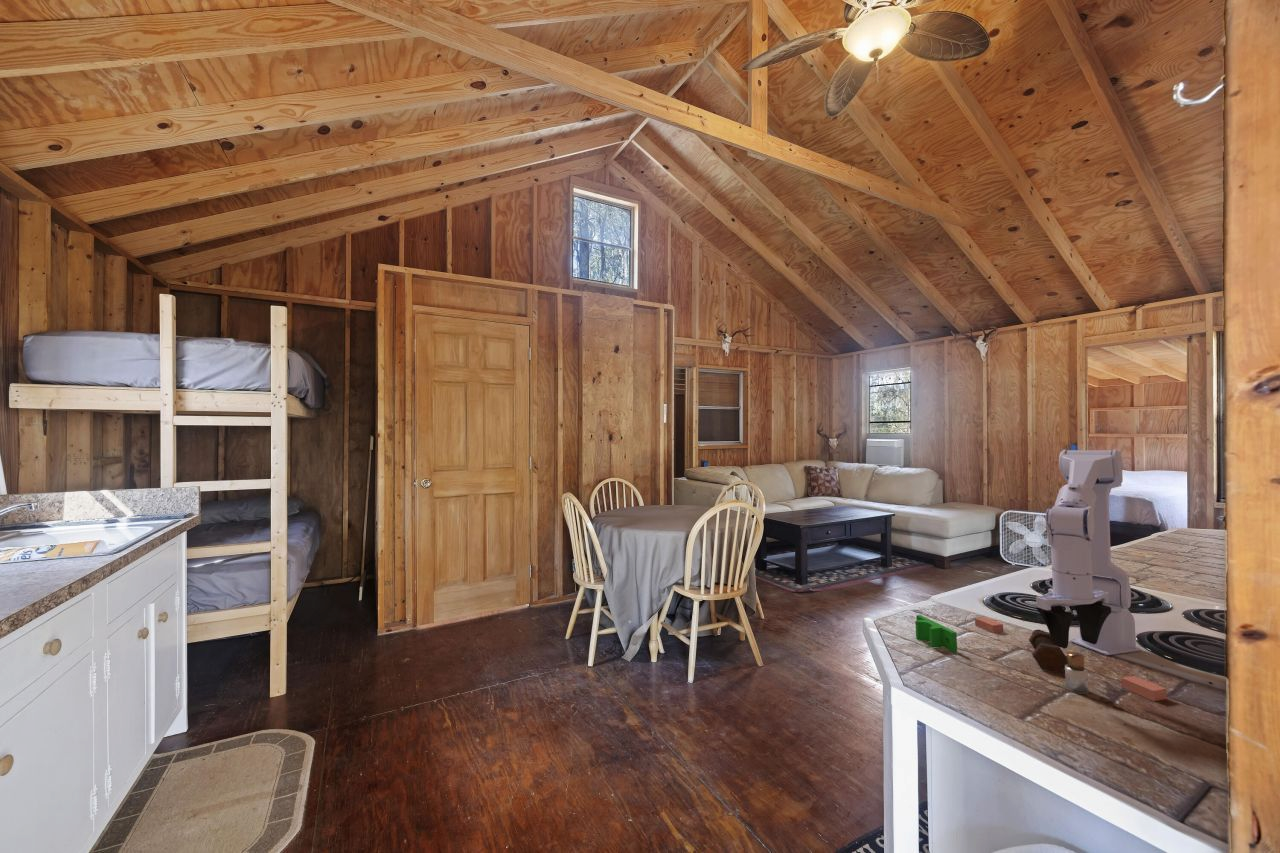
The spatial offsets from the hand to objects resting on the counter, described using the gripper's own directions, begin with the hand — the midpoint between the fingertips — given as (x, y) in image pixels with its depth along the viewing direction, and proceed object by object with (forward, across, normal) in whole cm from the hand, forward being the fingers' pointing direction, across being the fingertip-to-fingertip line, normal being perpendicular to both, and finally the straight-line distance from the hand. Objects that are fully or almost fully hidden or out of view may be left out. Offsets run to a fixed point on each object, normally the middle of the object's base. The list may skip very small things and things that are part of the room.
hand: (1074, 644), depth 94 cm
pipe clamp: (+9, +9, -25) cm, 28 cm away
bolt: (+9, -8, -12) cm, 17 cm away
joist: (+8, -10, -28) cm, 31 cm away
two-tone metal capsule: (+8, 0, 0) cm, 8 cm away
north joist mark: (+8, -10, +4) cm, 14 cm away
